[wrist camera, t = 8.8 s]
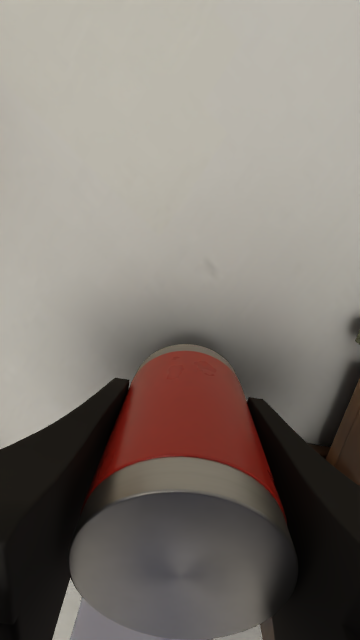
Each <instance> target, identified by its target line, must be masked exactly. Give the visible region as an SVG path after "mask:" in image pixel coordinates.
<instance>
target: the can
mask: <svg viewBox="0 0 360 640" xmlns="http://www.w3.org/2000/svg"><path fill="white" fill-rule="evenodd" d="M68 570H69V573H70V576H71V580H72V582H73V584H74V586H75V588H76V589H77V591H78V592H79V593H80V595H81V596H82V597H83V598H84V600H85V601H86V602H87V603H88V604H89V605H90V606H92V607H93V608H94V609H95V610H96V611H98V612H99V613H100V614H102V615H103V616H105V617H106V618H108V619H110V620H112V621H114V622H115V623H117V624H119V625H122V626H124V627H126V628H129V629H131V630H134V631H137V632H140V633H144V634H148V635H152V636H156V637H162V638H169V639H179V640H200V639H212V638H219V637H224V636H229V635H233V634H236V633H239V632H243V631H245V630H248V629H250V628H253V627H255V626H257V625H259V624H261V623H263V622H264V621H266V620H267V619H269V618H270V617H272V616H273V615H275V614H276V613H277V612H278V611H279V610H280V609H281V608H282V607H283V606H284V605H285V604H286V602H287V601H288V600H289V598H290V597H291V595H292V593H293V591H294V589H295V586H296V583H297V578H298V558H297V555H296V551H295V548H294V545H293V542H292V539H291V536H290V533H289V530H288V527H287V519H286V515H285V512H284V509H283V506H282V503H281V500H280V497H279V494H278V491H277V488H276V485H275V482H274V480H273V477H272V474H271V471H270V468H269V465H268V462H267V459H266V456H265V453H264V450H263V448H262V445H261V442H260V439H259V436H258V433H257V430H256V427H255V424H254V421H253V419H252V416H251V413H250V410H249V407H248V404H247V401H246V398H245V395H244V392H243V389H242V387H241V384H240V382H239V380H238V378H237V376H236V373H235V371H234V370H233V368H232V367H231V365H230V364H229V363H228V362H227V361H226V360H225V359H224V358H223V357H222V356H221V355H219V354H218V353H216V352H214V351H212V350H210V349H208V348H205V347H202V346H198V345H192V344H179V345H172V346H169V347H165V348H163V349H161V350H158V351H157V352H155V353H153V354H152V355H151V356H149V357H148V358H147V359H146V360H145V361H144V362H143V363H142V364H141V366H140V367H139V369H138V371H137V373H136V375H135V376H134V378H133V380H132V382H131V385H130V387H129V390H128V392H127V395H126V397H125V400H124V402H123V405H122V407H121V410H120V412H119V415H118V417H117V420H116V422H115V425H114V427H113V430H112V432H111V435H110V437H109V440H108V442H107V445H106V447H105V450H104V452H103V455H102V457H101V460H100V462H99V465H98V467H97V470H96V472H95V475H94V477H93V480H92V482H91V485H90V487H89V490H88V492H87V495H86V497H85V500H84V503H83V506H82V509H81V515H80V518H79V521H78V523H77V526H76V528H75V531H74V534H73V536H72V539H71V542H70V545H69V549H68Z"/></svg>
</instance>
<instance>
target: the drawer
mask: <svg viewBox="0 0 360 640" xmlns="http://www.w3.org/2000/svg"><path fill="white" fill-rule="evenodd" d="M355 341H356V342H357V343H359V344H360V330H359V333H358V335H357V338H356V340H355ZM325 460H327V461H328V462H329V463H330V464H331V465H333V466H334V467H335V468H336V469H338V470H339V471H340V472H341V473H343V474H344V475H345V476H347V477H348V478H349V479H351V480H352V481H353V482H355V483H356V484H357V485H359V486H360V378H359V381H358V383H357V386H356V388H355V390H354V393H353V395H352V397H351V400H350V402H349V405H348V407H347V409H346V412H345V414H344V417H343V419H342V421H341V424H340V426H339V428H338V431H337V433H336V436H335V438H334V440H333V443H332V445H331V447H330V450H329V452H328V455H327V457H326V459H325Z"/></svg>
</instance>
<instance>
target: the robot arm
mask: <svg viewBox="0 0 360 640" xmlns="http://www.w3.org/2000/svg"><path fill="white" fill-rule="evenodd" d="M128 389H129V380H127V379H120V378H115V379H113V380H112V381H111V382H109V383H108V384H107V385H106V386H105V387H103V388H102V389H101V390H100V391H98V392H97V393H96V394H95V395H93V396H92V397H91V398H89V399H88V400H87V401H86V402H84V403H83V404H82V405H80V406H79V407H77V408H76V409H74V410H73V411H72V412H70V413H69V414H67V415H66V416H64V417H63V418H61V419H59V420H58V421H56V422H55V423H53V424H51V425H49V426H48V427H46V428H44V429H42V430H40V431H38V432H37V433H35V434H32V435H30V436H28V437H26V438H24V439H22V440H20V441H18V442H16V443H14V444H12V445H10V446H7V447H5V448H3V449H0V640H52V638H53V634H54V631H55V627H56V624H57V621H58V617H59V614H60V610H61V607H62V604H63V600H64V597H65V594H66V590H67V587H68V584H69V580H70V577H71V576H70V573H69V570H68V549H69V545H70V542H71V539H72V536H73V534H74V531H75V528H76V526H77V523H78V521H79V518H80V515H81V509H82V506H83V503H84V500H85V497H86V495H87V492H88V490H89V487H90V485H91V482H92V480H93V477H94V475H95V472H96V470H97V467H98V465H99V462H100V460H101V457H102V455H103V452H104V450H105V447H106V445H107V442H108V440H109V437H110V435H111V432H112V430H113V427H114V425H115V422H116V420H117V417H118V415H119V412H120V410H121V407H122V405H123V402H124V400H125V397H126V395H127V392H128ZM247 404H248V407H249V410H250V413H251V416H252V419H253V421H254V424H255V427H256V430H257V433H258V436H259V439H260V442H261V445H262V448H263V450H264V453H265V456H266V459H267V462H268V465H269V468H270V471H271V474H272V477H273V480H274V482H275V485H276V488H277V491H278V494H279V497H280V500H281V503H282V506H283V509H284V512H285V515H286V519H287V527H288V530H289V533H290V536H291V539H292V542H293V545H294V548H295V551H296V555H297V558H298V578H297V583H296V586H295V589H294V591H293V593H292V595H291V597H290V598H289V600H288V601H287V602H286V604H285V605H284V606H283V607H282V608H281V609H280V610H279V611H278V612H277V613H276V614H275V615H273V616H272V623H273V631H274V639H275V640H360V486H359V485H357V484H356V483H355V482H353V481H352V480H351V479H349V478H348V477H347V476H345V475H344V474H343V473H341V472H340V471H339V470H338V469H336V468H335V467H334V466H333V465H331V464H330V463H329V462H328V461H327V460H325V459H324V458H323V457H322V456H321V455H320V454H318V453H317V452H316V451H315V450H314V449H313V448H312V447H311V446H310V445H308V444H307V443H306V442H305V441H304V440H303V439H302V438H301V437H300V436H299V435H298V434H297V433H296V432H295V431H294V430H293V429H292V428H291V427H290V426H289V425H288V424H287V423H286V422H285V421H284V420H283V419H282V418H281V417H280V416H279V415H278V414H277V413H276V412H275V411H274V410H273V409H272V408H271V407H270V406H269V405H268V404H267V403H266V402H265V401H264V400H263V399H258V398H251V397H249V398H248V402H247ZM70 640H179V639H169V638H162V637H156V636H152V635H148V634H144V633H140V632H137V631H134V630H131V629H129V628H126V627H124V626H122V625H119V624H117V623H115V622H114V621H112V620H110V619H108V618H106V617H105V616H103V615H102V614H100V613H99V612H98V611H96V610H95V609H94V608H93V607H92V606H90V605H89V604H88V603H87V602H86V601H85V600H84V598H83V597H82V599H81V603H80V607H79V611H78V614H77V617H76V621H75V624H74V627H73V631H72V634H71V637H70ZM200 640H213V638H212V639H200Z"/></svg>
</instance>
